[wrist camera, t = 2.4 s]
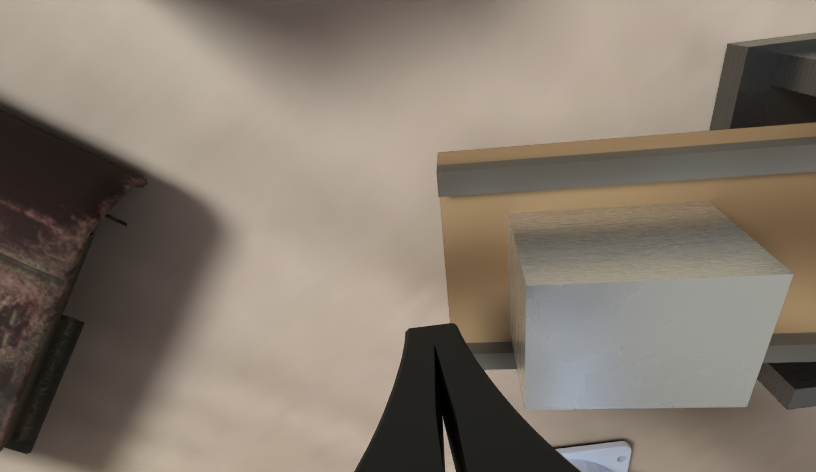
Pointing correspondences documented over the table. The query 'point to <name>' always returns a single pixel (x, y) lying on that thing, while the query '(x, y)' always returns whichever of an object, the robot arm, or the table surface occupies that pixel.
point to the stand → (769, 106)
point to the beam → (626, 186)
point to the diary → (43, 263)
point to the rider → (639, 307)
